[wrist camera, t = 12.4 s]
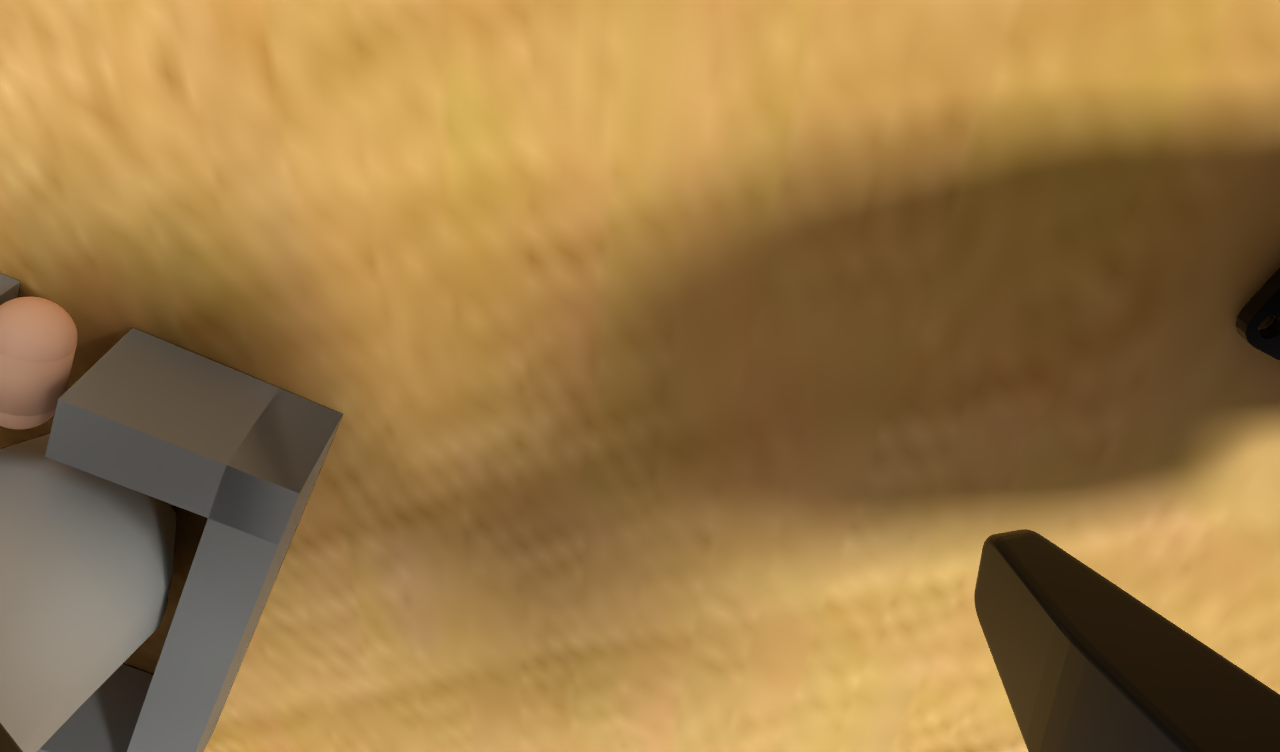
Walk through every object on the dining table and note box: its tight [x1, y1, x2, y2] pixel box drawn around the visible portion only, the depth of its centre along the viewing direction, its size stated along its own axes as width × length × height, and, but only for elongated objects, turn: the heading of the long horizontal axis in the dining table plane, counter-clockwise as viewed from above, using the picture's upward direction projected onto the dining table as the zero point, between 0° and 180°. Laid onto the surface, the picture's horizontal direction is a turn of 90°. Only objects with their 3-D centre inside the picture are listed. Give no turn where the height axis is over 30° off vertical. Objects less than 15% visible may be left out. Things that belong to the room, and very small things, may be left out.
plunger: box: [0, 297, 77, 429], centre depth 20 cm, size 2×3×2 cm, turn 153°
